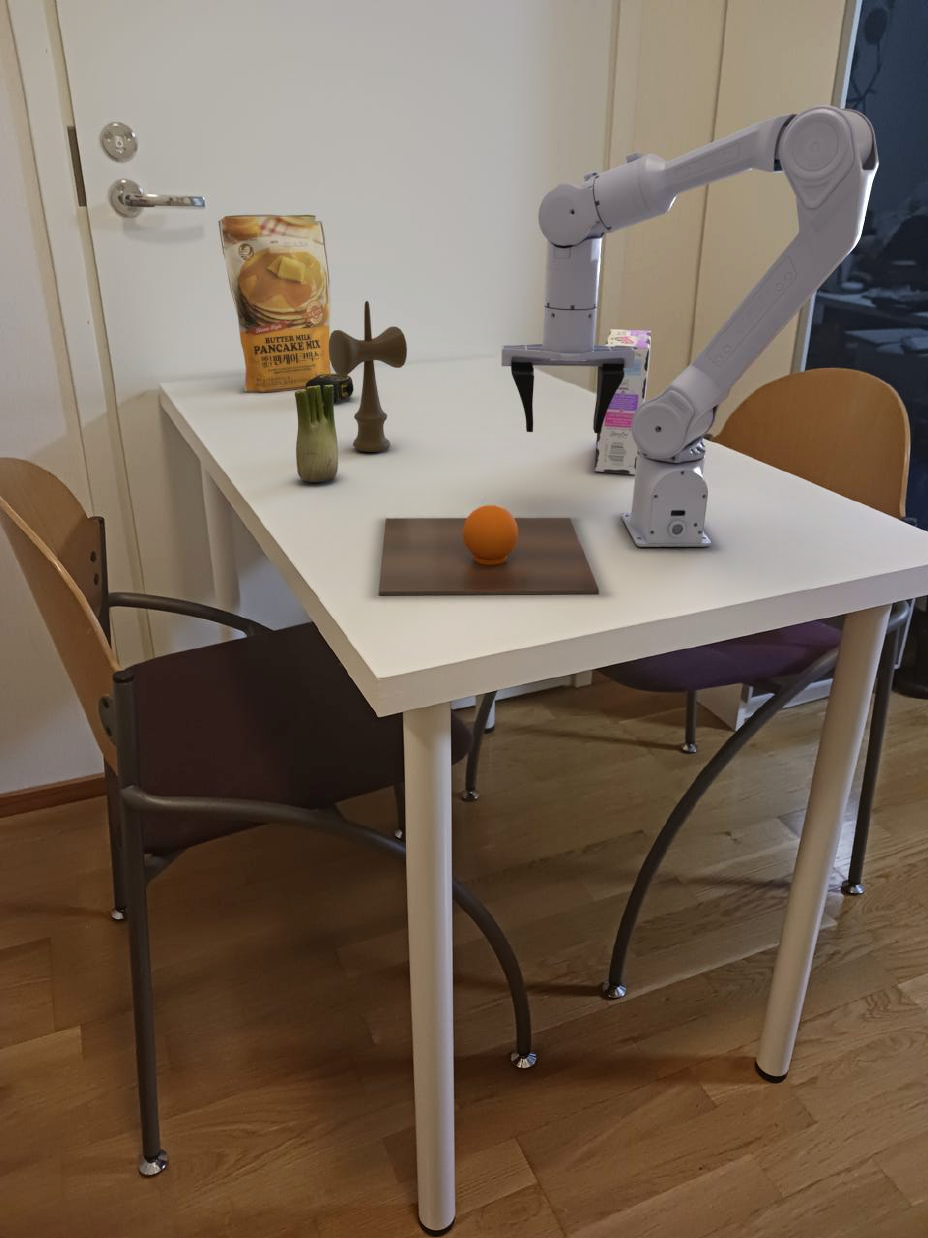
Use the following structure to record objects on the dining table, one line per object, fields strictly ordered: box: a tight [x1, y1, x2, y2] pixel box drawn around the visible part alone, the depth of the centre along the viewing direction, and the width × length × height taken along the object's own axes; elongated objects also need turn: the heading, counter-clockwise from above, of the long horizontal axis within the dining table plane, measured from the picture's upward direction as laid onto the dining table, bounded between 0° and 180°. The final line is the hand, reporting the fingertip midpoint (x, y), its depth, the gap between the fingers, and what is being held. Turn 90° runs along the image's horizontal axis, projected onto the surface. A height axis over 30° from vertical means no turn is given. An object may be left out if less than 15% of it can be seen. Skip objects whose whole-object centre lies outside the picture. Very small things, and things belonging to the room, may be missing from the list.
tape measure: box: [305, 373, 354, 402], centre depth 161 cm, size 7×7×4 cm
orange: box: [463, 504, 518, 565], centre depth 98 cm, size 6×6×6 cm
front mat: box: [378, 517, 600, 596], centre depth 101 cm, size 20×21×1 cm
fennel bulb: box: [294, 385, 339, 484], centre depth 120 cm, size 6×5×12 cm
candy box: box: [594, 328, 652, 476], centre depth 129 cm, size 14×6×16 cm, turn 168°
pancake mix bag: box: [217, 214, 332, 393], centre depth 164 cm, size 7×19×28 cm, turn 120°
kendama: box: [329, 300, 408, 453], centre depth 131 cm, size 6×10×20 cm, turn 123°
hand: (563, 430), depth 110 cm, fingers open, 7 cm apart
